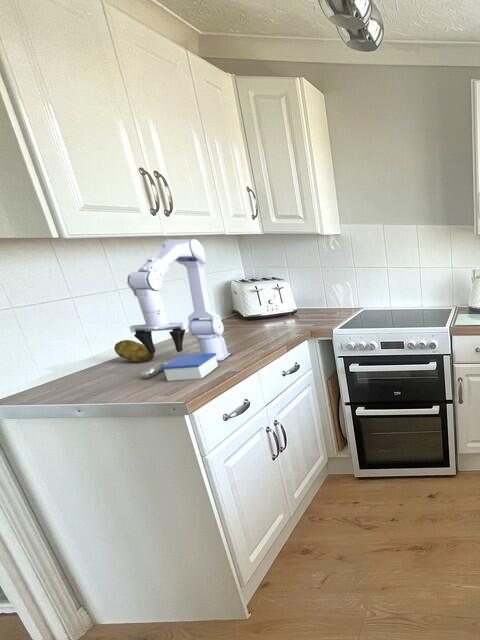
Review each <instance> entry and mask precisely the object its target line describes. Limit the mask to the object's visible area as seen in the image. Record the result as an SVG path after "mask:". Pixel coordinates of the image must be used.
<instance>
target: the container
mask: <svg viewBox="0 0 480 640" xmlns="http://www.w3.org/2000/svg"><path fill="white" fill-rule="evenodd" d="M215 356H216V353H207V354H201V353H193V354H182V355H180V356H178V357H177V358H175V359H174V360H172V361H170V362H167V363H168V364H166V365H164V366H163V367H162V369H164V370H163V371H164V374H165V377H166V380H167V382H174V381H185V380H198V379H203V378H204V377H206V376H207V375H209V374H210V373H211V372H212V371H214V370H215V369H216V368H218V367H219V365H218V361H216V357H215Z"/></svg>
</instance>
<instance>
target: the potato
mask: <svg viewBox="0 0 480 640" xmlns="http://www.w3.org/2000/svg"><path fill="white" fill-rule="evenodd" d="M113 349H114V351H115V354H116V355H118V357H120V358H122V359H125V360H126V361H128V362H129V363H144V362H149V361H151V360H153V359H154V357H155V353H153V354H150V353H149V352H148V350H147V349H146V347H145V346H144V345H143V344H142V343H141V342H137V341H135V340H132V339H124V340H120V341H119V342H116V343H115V345H114V348H113Z"/></svg>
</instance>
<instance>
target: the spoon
mask: <svg viewBox="0 0 480 640" xmlns="http://www.w3.org/2000/svg"><path fill="white" fill-rule="evenodd" d="M168 363H169V362H158V363H156V364H155V365H152V366H150V367H149V368H147V369H145V370H144V371H142V372H141V377H142V378H143V379H150V378H152V377H153V376H155V375H158V374H159V373H160V372H161V371H164V369H162V367H163V366H164V365H166V364H168Z"/></svg>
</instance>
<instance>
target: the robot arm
mask: <svg viewBox="0 0 480 640" xmlns="http://www.w3.org/2000/svg"><path fill="white" fill-rule="evenodd" d="M174 262H176V263H177V264H180V265H183V266H184V267H185V269H186V273H187V279H188V285H189V289H190V290H189V291H190V295H191V296H190V297H191V302H192V307H193V312H191V314H190V315H188V323H186V322H169V317H168V314H167V311H166V308H165V305H164V301H163V298H162V295H161V291H160V290H161V289H162V288H163V281H164V278H165V277H166V276H167V275H168V274H169V272H170V265H171V264H173V263H174ZM205 264H206V256H205V249H204V246H203V245H202V243H200V241H199V240H197V238H192V239H165V240H164V241H163V242H162V250H161V251H160V253H159V254H158V256H157V257H149V258H147V259H146V262H145V263H144V264H143V265H142V266H141V267H139V269H138V270H137V271H132V272H130V273H129V274H128V275H127V279H126V280H127V282H126V284H127V286H128V288H129V289H130V291H132V294H133V296H134V297H136V298H137V301H138V305H139V307H140V310H141V314H142V316H143V319H144V322H145V324H143V323H142V324H132V325H130V326H129V330H130V333H134V334H133V336H134V337H135V339H137V340H138V341H139V343H140V344H143V345H144V346H145V347H146V349H147V350H148V352H149V353H150V354H153V353H154V354H155V353H156V347H155V345H154V341H153V334H152V332H157V331H158V332H159V331H160V332H161V331H169V335H170V336H171V338H172V341H173V342H174V346H175V350H176V352H177V353H181V352H183V351H184V350H183V342H184V337H185V333H186V330H188V332H189V333H190V335H191V336H193V337H194V339H197V342H198V346H199V350H200V354H207V353H216V356H215V357H216V361H217V362H220V361H221V362H222V361H224V360H225V359H226V358H227V357H229V356H230V355H231V354H232V353H231V352H228V348H227V344H226V341H225V338H224V337H223V336H222V335H223V333H224V331H225V330H224V328H225V327H224V323H223V322H222V319H221V315H220V314H218V313H216V312H214V311H213V310H212V308H211V303H210V297H209V291H208V285H207V279H206V273H205V272H206V271H205V266H204V265H205Z"/></svg>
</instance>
